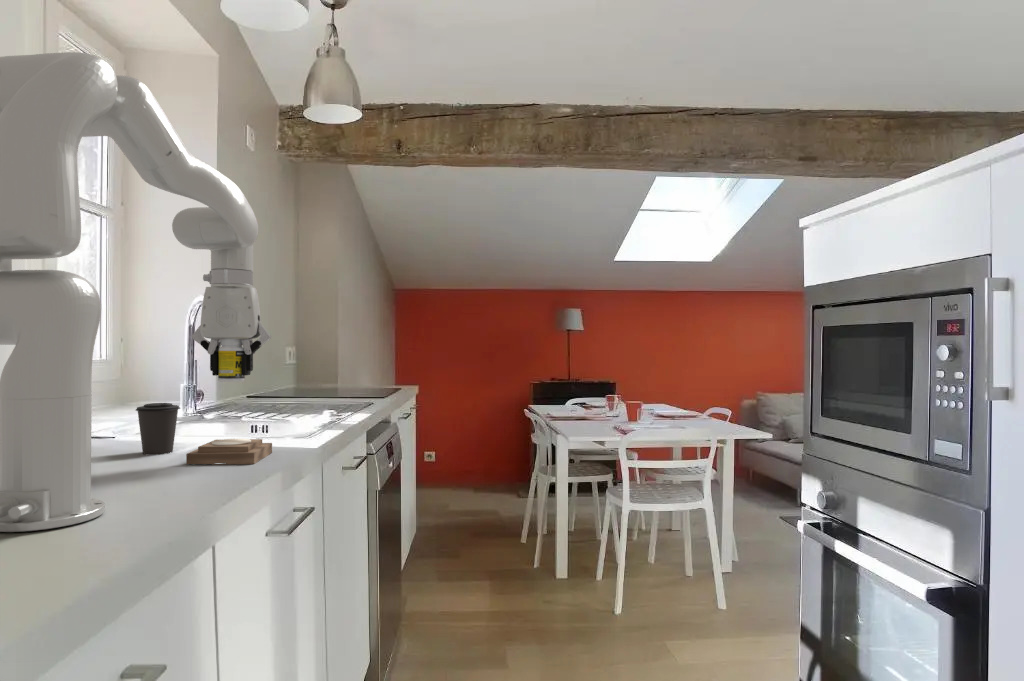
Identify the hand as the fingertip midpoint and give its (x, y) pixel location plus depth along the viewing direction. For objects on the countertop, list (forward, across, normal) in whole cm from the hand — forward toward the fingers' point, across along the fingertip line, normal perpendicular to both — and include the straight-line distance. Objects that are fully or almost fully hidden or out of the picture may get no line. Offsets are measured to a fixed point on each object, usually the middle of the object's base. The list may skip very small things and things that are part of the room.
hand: (231, 374), depth 125 cm
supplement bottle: (+2, 0, 0) cm, 2 cm away
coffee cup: (+16, -17, +8) cm, 25 cm away
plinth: (+16, 0, 0) cm, 16 cm away
